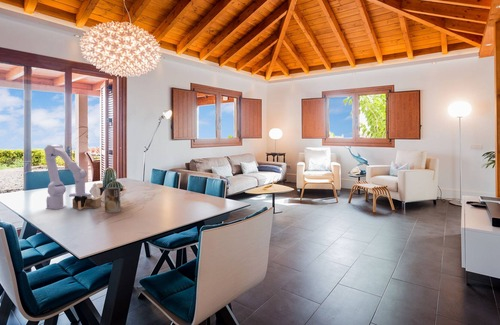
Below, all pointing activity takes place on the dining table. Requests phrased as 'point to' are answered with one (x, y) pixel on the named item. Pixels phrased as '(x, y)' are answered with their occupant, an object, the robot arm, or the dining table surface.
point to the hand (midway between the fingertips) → (80, 207)
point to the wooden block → (90, 202)
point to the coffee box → (112, 200)
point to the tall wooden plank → (80, 205)
